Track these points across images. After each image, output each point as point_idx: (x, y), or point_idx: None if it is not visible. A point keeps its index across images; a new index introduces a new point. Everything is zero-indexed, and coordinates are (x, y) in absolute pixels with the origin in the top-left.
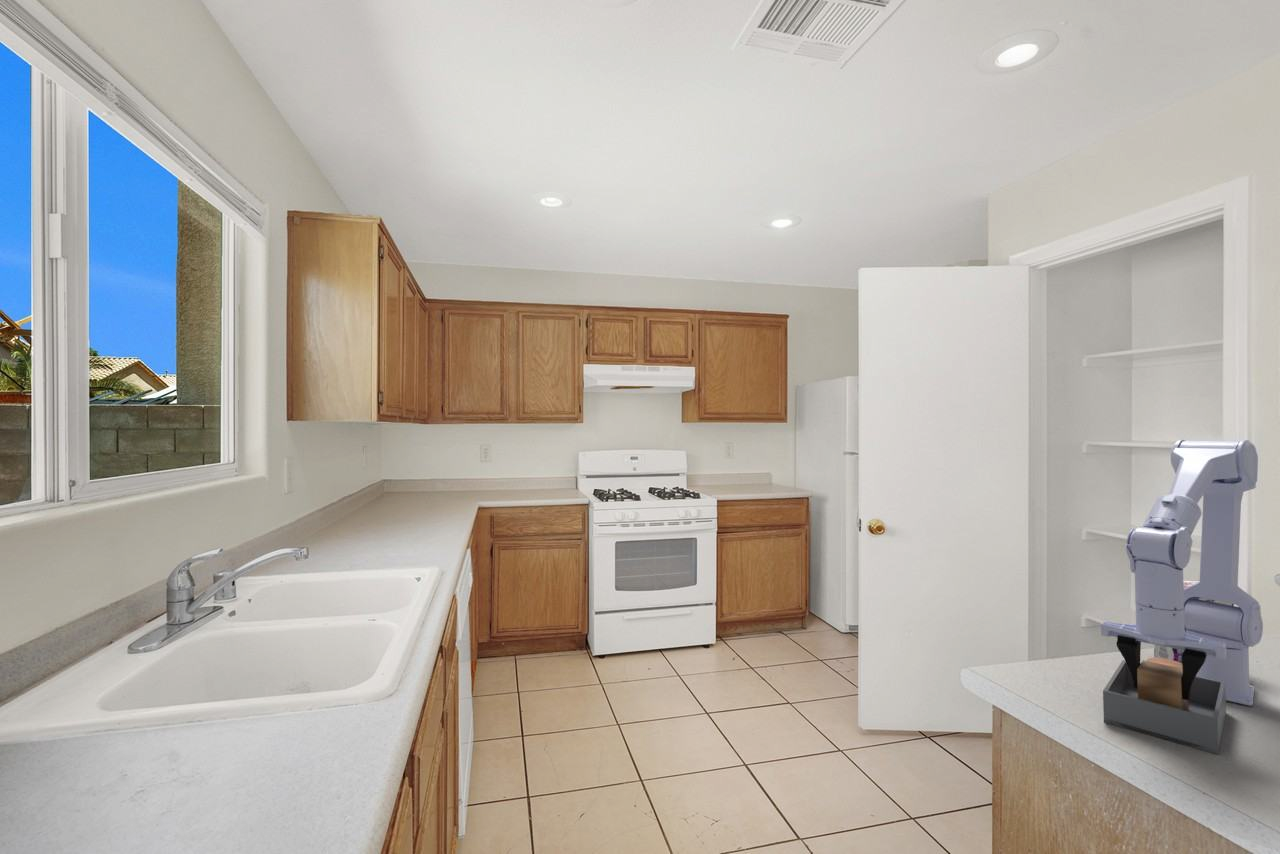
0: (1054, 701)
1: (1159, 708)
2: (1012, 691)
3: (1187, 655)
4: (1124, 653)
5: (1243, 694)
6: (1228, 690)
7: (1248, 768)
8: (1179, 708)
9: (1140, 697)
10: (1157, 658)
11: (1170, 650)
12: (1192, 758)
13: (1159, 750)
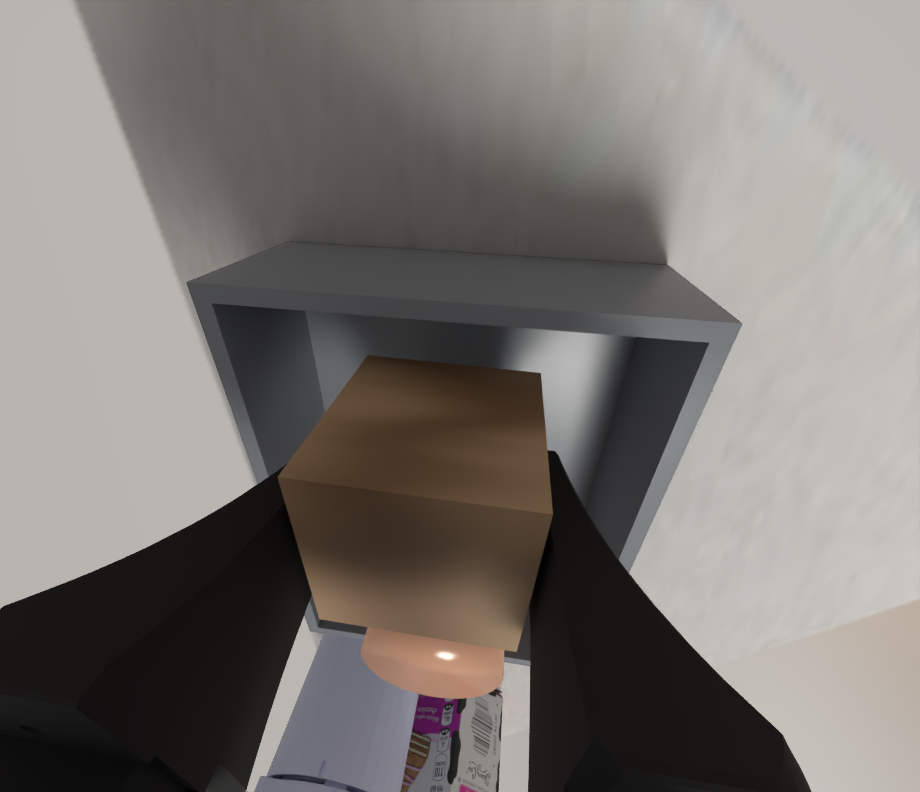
0: (856, 360)
1: (439, 293)
2: None
3: (71, 726)
4: (680, 662)
5: None
6: None
7: (194, 185)
8: (367, 362)
9: (529, 382)
10: (468, 693)
11: (465, 740)
12: (339, 115)
13: (454, 93)
